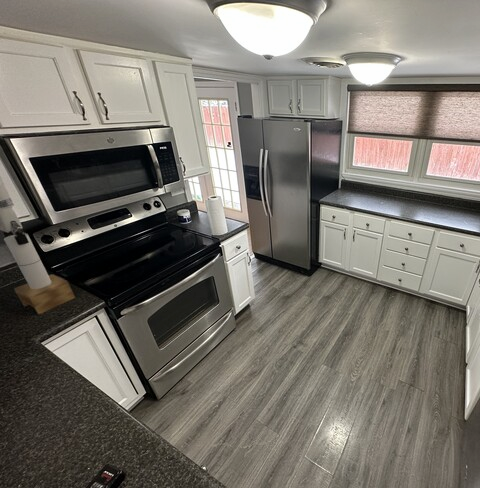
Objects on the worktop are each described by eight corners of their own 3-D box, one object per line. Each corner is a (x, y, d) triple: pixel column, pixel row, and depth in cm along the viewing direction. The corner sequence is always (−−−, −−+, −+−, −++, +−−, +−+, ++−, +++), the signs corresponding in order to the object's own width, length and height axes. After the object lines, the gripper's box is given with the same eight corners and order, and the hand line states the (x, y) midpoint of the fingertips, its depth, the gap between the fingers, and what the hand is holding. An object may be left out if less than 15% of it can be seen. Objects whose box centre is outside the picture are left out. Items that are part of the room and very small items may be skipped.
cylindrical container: (32, 291, 120) (6, 241, 109) (28, 285, 124) (1, 237, 113) (53, 283, 126) (30, 236, 115) (48, 278, 129) (25, 232, 118)
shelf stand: (38, 314, 121) (29, 296, 116) (23, 305, 126) (13, 288, 121) (75, 297, 132) (67, 281, 128) (60, 290, 137) (52, 274, 133)
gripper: (-24, 203, 107) (-4, 241, 115) (-5, 209, 101) (15, 249, 108) (2, 198, 114) (20, 235, 121) (22, 204, 107) (39, 242, 115)
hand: (18, 241), depth 115 cm, fingers open, 9 cm apart
